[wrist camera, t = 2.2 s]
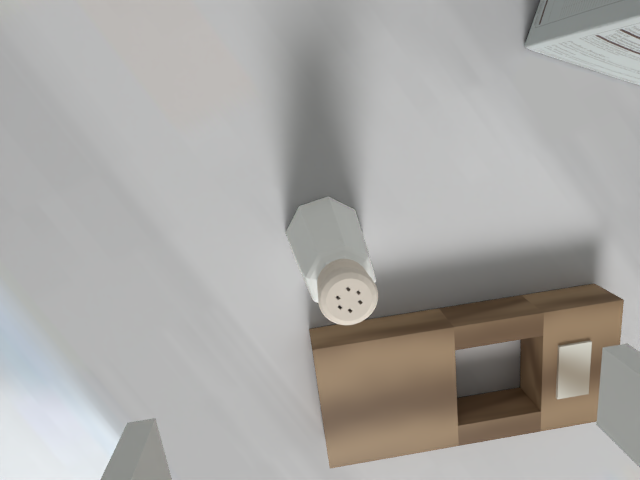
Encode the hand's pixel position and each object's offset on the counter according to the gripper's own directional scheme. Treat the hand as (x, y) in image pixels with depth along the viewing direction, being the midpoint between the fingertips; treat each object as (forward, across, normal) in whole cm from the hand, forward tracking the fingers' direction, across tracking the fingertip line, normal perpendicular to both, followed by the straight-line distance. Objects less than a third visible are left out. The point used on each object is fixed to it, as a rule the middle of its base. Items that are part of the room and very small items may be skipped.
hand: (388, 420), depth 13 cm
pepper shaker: (+19, 0, 0) cm, 19 cm away
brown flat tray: (+19, +9, -12) cm, 24 cm away
